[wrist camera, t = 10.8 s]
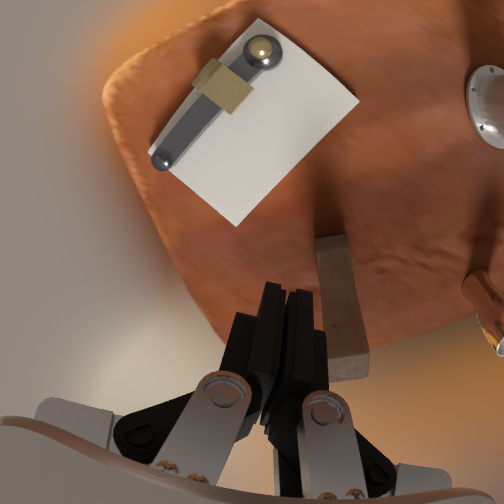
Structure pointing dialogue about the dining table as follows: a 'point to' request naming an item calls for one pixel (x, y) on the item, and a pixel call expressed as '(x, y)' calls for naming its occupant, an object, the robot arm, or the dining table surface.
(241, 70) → the link
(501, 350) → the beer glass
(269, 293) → the robot arm
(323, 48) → the dining table surface
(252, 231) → the dining table surface
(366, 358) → the wooden block
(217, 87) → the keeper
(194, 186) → the base plate
